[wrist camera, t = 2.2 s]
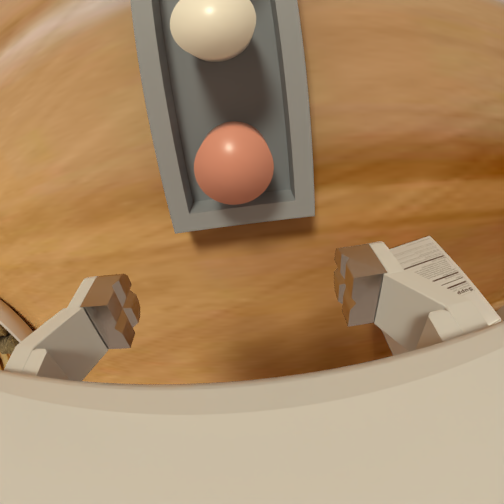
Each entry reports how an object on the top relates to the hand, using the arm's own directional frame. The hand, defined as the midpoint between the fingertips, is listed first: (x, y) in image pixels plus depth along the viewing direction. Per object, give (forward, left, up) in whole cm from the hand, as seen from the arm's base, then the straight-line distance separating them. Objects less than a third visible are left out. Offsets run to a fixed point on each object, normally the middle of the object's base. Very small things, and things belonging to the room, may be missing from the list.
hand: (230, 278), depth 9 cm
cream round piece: (0, -10, -16) cm, 19 cm away
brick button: (0, 0, -16) cm, 16 cm away
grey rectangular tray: (0, -10, -19) cm, 22 cm away
